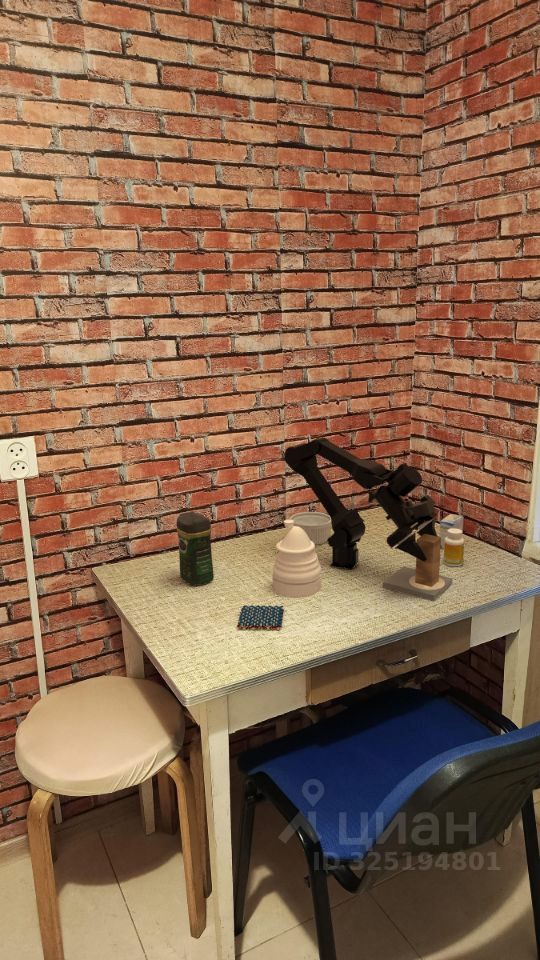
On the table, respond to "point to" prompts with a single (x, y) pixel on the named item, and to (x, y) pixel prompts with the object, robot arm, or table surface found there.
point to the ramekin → (314, 525)
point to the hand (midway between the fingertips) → (433, 554)
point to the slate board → (415, 584)
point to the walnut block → (428, 560)
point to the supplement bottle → (453, 548)
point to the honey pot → (296, 565)
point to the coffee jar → (195, 548)
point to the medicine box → (450, 526)
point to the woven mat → (260, 617)
